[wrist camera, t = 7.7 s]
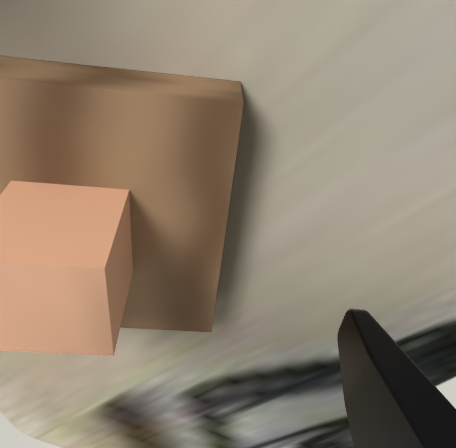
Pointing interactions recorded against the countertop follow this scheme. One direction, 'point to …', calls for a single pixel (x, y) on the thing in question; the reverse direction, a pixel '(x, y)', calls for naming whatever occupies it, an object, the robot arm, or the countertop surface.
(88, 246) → the block
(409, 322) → the countertop surface
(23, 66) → the base board
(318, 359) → the countertop surface
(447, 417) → the robot arm
